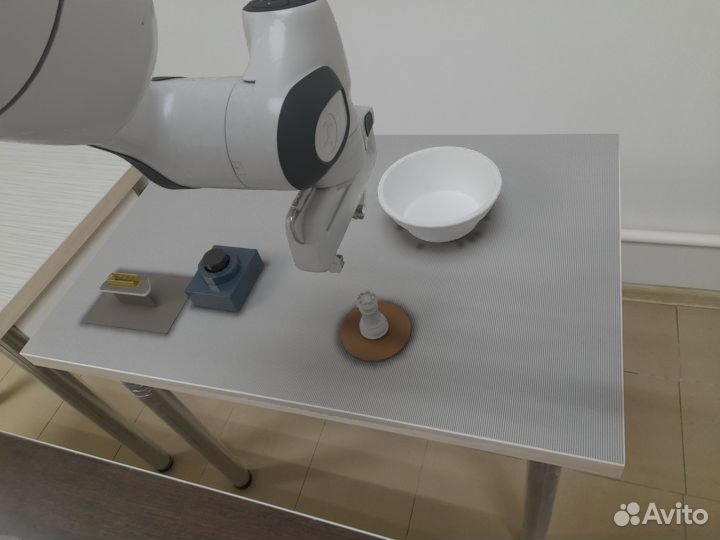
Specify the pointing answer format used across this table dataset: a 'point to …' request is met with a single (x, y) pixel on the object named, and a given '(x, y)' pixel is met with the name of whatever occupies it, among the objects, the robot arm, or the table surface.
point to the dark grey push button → (215, 260)
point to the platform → (139, 302)
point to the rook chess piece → (371, 316)
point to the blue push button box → (226, 280)
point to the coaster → (381, 346)
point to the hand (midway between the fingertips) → (348, 240)
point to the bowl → (440, 191)
